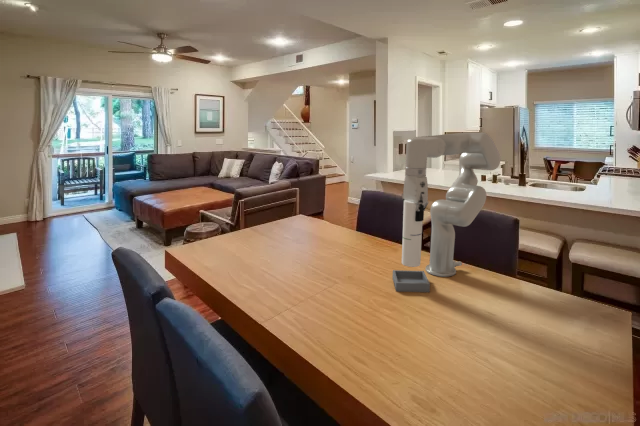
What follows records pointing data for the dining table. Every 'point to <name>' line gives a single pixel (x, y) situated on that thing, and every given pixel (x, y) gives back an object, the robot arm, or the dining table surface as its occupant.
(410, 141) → the robot arm
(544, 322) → the dining table surface
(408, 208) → the cylindrical container
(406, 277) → the tray
